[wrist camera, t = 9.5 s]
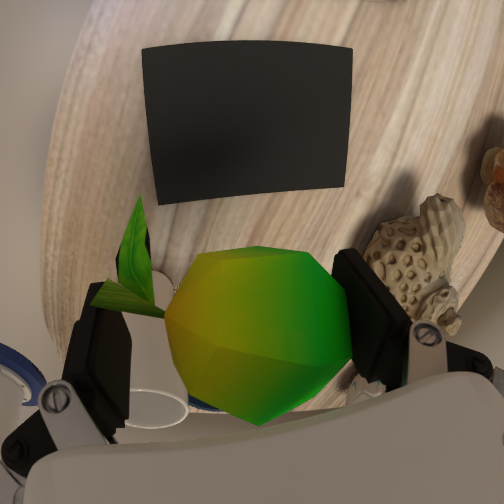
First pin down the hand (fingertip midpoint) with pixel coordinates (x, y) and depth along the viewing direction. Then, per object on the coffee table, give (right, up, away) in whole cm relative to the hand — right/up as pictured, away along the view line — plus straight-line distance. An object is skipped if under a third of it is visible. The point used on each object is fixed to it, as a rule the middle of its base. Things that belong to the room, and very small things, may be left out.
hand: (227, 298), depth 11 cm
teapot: (+17, +2, +25) cm, 31 cm away
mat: (+1, +13, +14) cm, 19 cm away
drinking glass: (-10, -2, +21) cm, 23 cm away
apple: (-1, +1, +1) cm, 2 cm away
